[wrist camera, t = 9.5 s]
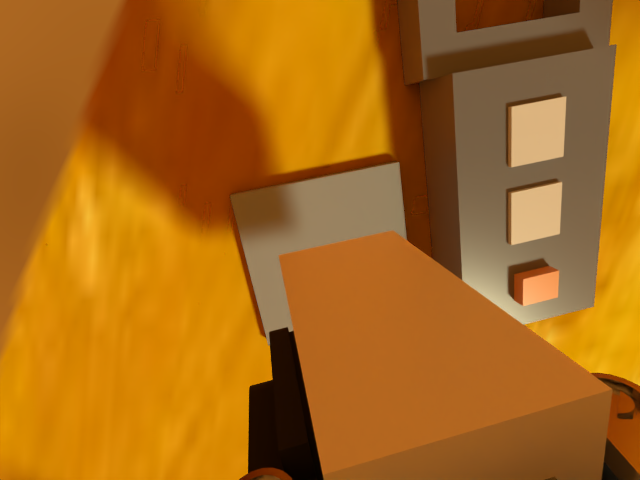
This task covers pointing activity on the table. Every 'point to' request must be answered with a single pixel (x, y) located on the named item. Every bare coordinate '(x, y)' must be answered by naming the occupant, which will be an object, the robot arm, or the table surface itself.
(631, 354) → the table surface
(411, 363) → the plug
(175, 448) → the table surface
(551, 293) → the charging dock
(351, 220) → the rubber mat
